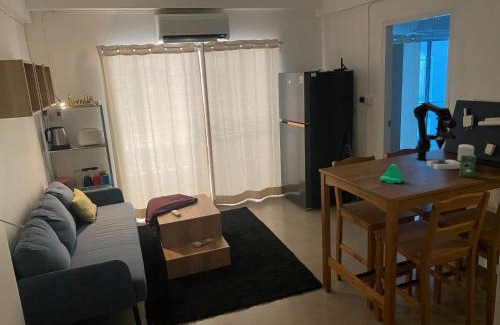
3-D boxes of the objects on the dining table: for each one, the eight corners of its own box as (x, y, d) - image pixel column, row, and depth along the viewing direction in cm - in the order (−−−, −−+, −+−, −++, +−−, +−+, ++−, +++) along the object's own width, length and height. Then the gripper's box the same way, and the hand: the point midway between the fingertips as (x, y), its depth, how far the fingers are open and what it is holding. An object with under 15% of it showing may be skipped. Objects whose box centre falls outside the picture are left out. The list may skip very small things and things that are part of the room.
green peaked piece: (379, 181, 226) (379, 165, 224) (383, 179, 232) (384, 163, 230) (399, 184, 219) (400, 167, 217) (403, 181, 225) (404, 165, 223)
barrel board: (426, 165, 262) (426, 160, 261) (451, 163, 263) (451, 159, 262) (437, 169, 248) (437, 165, 248) (463, 168, 249) (464, 164, 248)
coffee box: (473, 175, 231) (475, 155, 228) (474, 177, 228) (476, 156, 225) (458, 175, 232) (460, 155, 230) (460, 176, 230) (462, 156, 227)
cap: (433, 166, 258) (433, 159, 257) (441, 165, 258) (442, 158, 257) (437, 168, 252) (438, 161, 251) (446, 167, 252) (446, 160, 251)
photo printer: (456, 160, 271) (457, 144, 268) (458, 159, 273) (460, 143, 271) (471, 162, 263) (473, 145, 260) (474, 161, 265) (475, 144, 263)
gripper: (434, 129, 246) (432, 152, 249) (462, 127, 246) (459, 150, 250) (426, 126, 256) (424, 148, 260) (452, 125, 257) (450, 147, 261)
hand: (439, 149), depth 257 cm, fingers closed
